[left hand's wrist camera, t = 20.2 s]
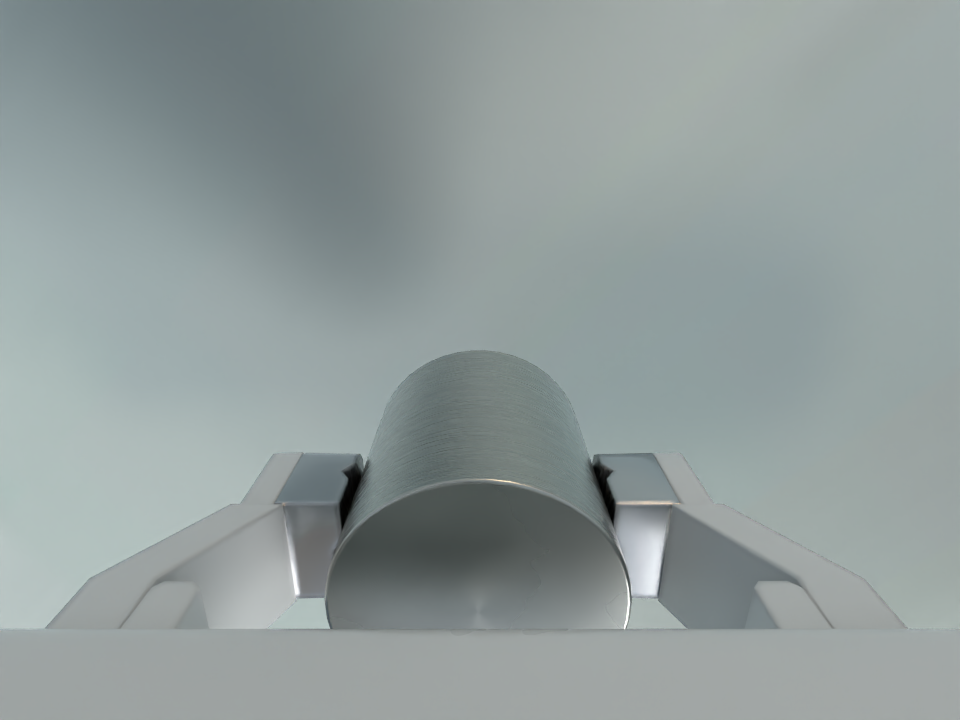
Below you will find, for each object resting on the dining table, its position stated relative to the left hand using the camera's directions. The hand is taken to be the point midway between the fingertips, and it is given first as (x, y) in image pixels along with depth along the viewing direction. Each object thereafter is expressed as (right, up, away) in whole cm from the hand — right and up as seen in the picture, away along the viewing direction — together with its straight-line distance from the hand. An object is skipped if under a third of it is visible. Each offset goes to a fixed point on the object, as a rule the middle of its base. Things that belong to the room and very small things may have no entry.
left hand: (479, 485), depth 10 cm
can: (0, +1, +2) cm, 2 cm away
